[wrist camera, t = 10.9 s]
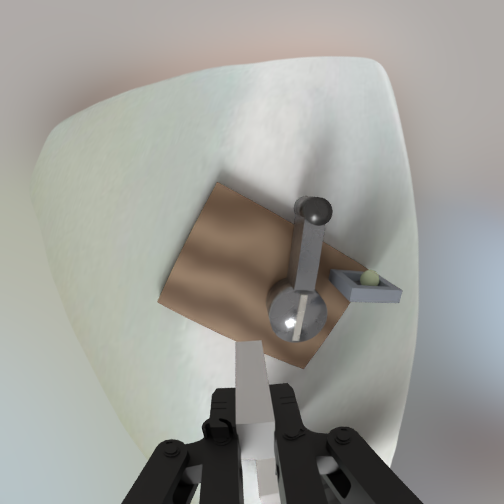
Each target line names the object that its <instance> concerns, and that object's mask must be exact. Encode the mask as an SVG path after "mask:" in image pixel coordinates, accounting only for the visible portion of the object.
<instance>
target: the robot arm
mask: <svg viewBox="0 0 504 504" xmlns="http://www.w3.org/2000/svg"><path fill="white" fill-rule="evenodd" d="M202 431H203V434H204V438H203V439H202V440H200V441H197V442H194V443H190V444H184V443H183V442H181V441H179V440H173V439H170V440H165V441H163V442H161V443H160V444H159V445H158V446H157V447H156V449H155V450H154V452H153V454H152V455H151V457H150V459H149V460H148V462H147V463H146V465H145V467H144V468H143V470H142V472H141V473H140V475H139V476H138V478H137V480H136V481H135V483H134V484H133V486H132V488H131V489H130V491H129V492H128V494H127V496H126V497H125V499H124V500H123V502H122V503H121V504H190V503H191V500H192V498H193V496H194V494H195V491H196V489H197V487H198V484H199V483H201V489H200V502H199V504H244V496H243V474H242V465H241V460H257V459H270V458H275V461H276V470H275V475H277V481H278V488H279V495H280V502H281V504H423V503H422V502H421V501H420V500H419V498H417V496H416V495H415V494H414V493H413V492H412V491H411V490H410V489H409V488H408V487H407V486H406V485H405V484H404V483H403V482H402V481H401V480H400V479H399V478H398V477H397V475H395V473H394V472H393V471H392V470H391V469H390V468H389V467H388V466H387V465H386V464H385V462H384V461H383V460H382V459H381V458H380V457H379V456H378V455H377V454H376V453H375V452H374V450H373V449H372V448H371V447H370V446H369V445H368V444H367V443H366V441H365V440H364V439H363V438H362V437H361V436H360V435H359V434H358V432H357V431H355V430H354V429H352V428H349V427H338V428H335V429H333V430H332V431H330V433H329V434H324V433H315V432H312V431H310V430H308V429H307V428H306V427H305V426H304V425H303V423H302V419H301V415H300V412H299V408H298V405H297V401H296V397H295V394H294V390H293V388H292V387H291V386H290V385H289V384H288V383H283V384H273V385H269V383H268V377H267V371H266V365H265V359H264V352H263V346H262V340H258V341H243V342H236V388H217V389H216V390H215V392H214V393H213V394H212V400H211V410H210V418H209V419H207V420H206V421H205V422H204V423H203V425H202Z"/></svg>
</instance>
